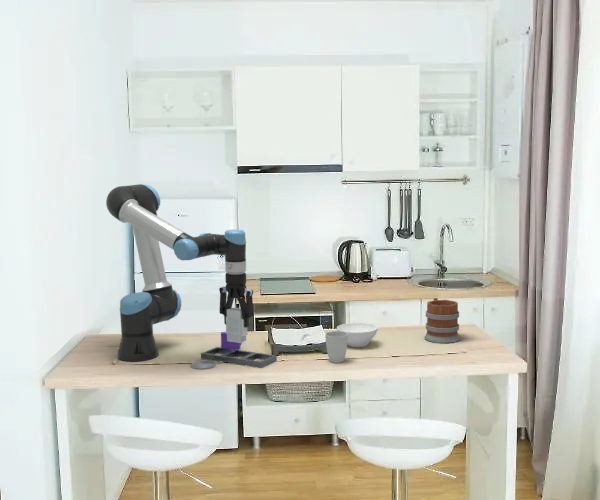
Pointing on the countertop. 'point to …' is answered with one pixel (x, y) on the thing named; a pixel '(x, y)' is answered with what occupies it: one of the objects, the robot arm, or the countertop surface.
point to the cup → (336, 345)
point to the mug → (442, 321)
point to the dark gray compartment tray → (245, 360)
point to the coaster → (203, 364)
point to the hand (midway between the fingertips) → (236, 334)
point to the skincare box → (234, 325)
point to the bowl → (358, 333)
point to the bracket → (228, 344)
